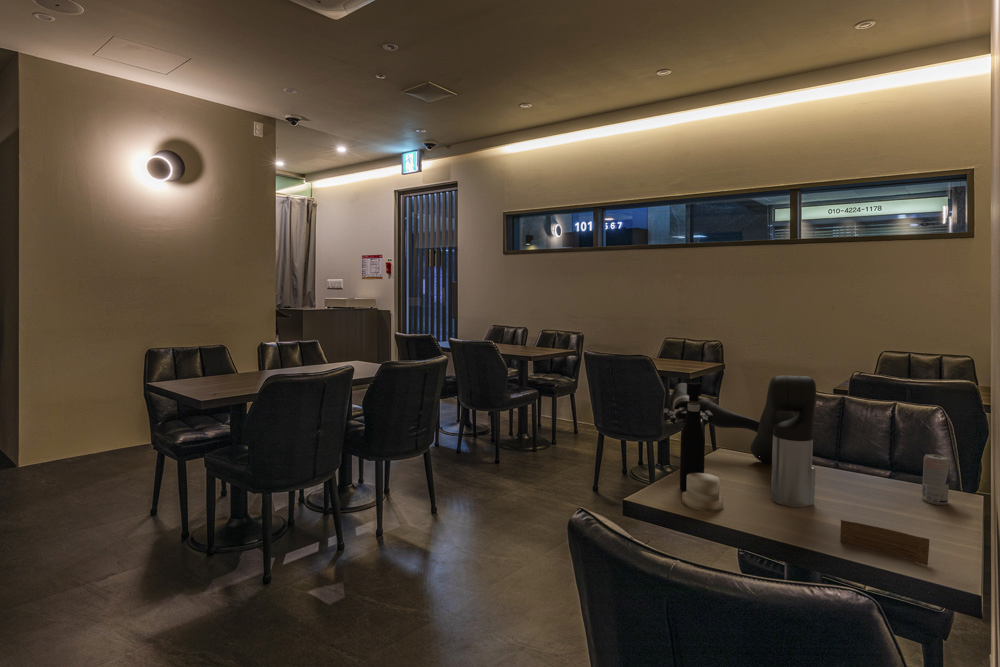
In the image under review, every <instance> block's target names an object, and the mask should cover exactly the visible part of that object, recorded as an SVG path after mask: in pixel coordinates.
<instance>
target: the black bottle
mask: <svg viewBox="0 0 1000 667" xmlns="http://www.w3.org/2000/svg"><path fill="white" fill-rule="evenodd" d="M687 395H689V402H690V403H688V405H687V406H688V408H687V409H688V410H687V411H686V422H685V423H683V427H682V431H681V435H680V460H679V489H680V490H681V491H682V492H685V491H686V488H687V475H688V474H691V473H705V452H706V451H705V449H706V447H705V446H706V437H705V431H704V426H703V424H702V422H701V421H700V416H701V411H699V410H700V408H699V407H700V406H699V404H697V403H698V402H699V401H700V400H699V397H701V396H702V383H701V382H695V381H688V382H687Z"/></svg>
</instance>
